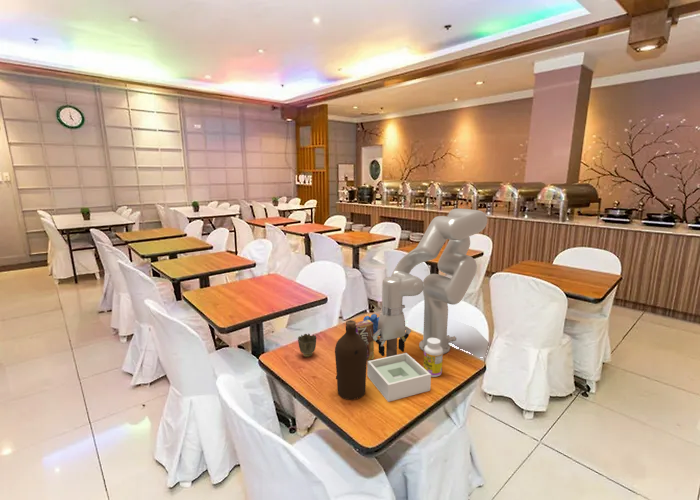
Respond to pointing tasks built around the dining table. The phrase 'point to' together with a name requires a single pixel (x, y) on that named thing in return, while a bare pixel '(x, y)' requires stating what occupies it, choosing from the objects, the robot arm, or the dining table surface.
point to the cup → (307, 344)
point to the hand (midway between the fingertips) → (391, 352)
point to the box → (398, 376)
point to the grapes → (374, 320)
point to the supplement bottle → (433, 357)
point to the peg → (391, 347)
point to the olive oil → (351, 363)
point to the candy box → (366, 336)
